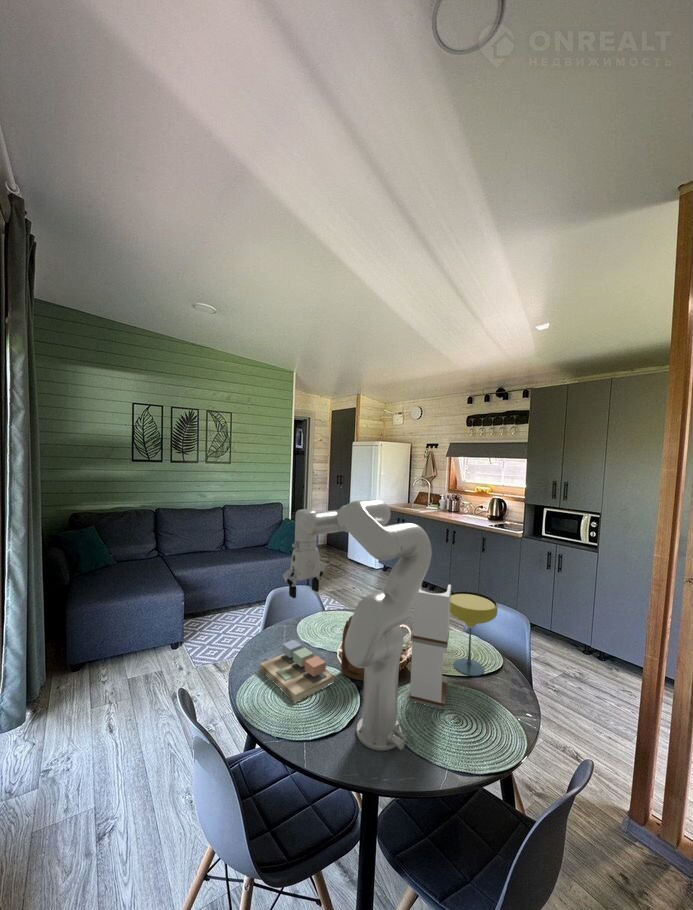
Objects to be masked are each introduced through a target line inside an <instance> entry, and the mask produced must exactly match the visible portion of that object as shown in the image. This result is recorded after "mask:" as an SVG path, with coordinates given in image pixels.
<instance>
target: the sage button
mask: <svg viewBox="0 0 693 910" xmlns="http://www.w3.org/2000/svg"><path fill="white" fill-rule="evenodd" d="M313 657H314V652H312V651H311V650H309V649H308V648H306V647H303V648H302V649H300V650H297V651H294V652H293V661H294V662H295V663H297V664H298V665H299V666H301V667H302V666H305V661H306V660H308V659H310V658H313Z"/></svg>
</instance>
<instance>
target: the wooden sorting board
mask: <svg viewBox="0 0 693 910" xmlns="http://www.w3.org/2000/svg"><path fill="white" fill-rule="evenodd" d="M259 671H260V672H261V673H262V672H263V673H264V674H265V675H267V676H268V677H269V678H270V679H271V680H272V681H274V683H276V684H277V685H278V686H279V687H280V688H281V689H282V690H283V691H284V692H285V693H286V694H287V695H288V696H289V697H290V698H291V699H292V700H293V701H294V702H293V701H292V700H291V699H290V698H289V697H288V696H287V695H286V694H285V693H284V692H283V691H282V690H281V691H282V692H283V693H284V694H285V695H286V696H287V697H288V698H289V699H290V700H291V701H292V702H293V703H295V702H297V701H299V700H301V699H302V700H304V699H306V698H308V697H310V696H312V695H314V694H316V693H318V692H320V691H321V690H320V689H322V688H324V687H325V686H327V685H328V684H330V683H332V682H334V681H336V675H335V674H333V673H332V672H330V671H329V670H328V669H326V671H325V672H322V673H320V674H318V675H316V676H314V677H313V676H312V675H311V674H310V673H308V672H307V671H306V670H305V666H302V667H301V666H299V665H298V664H297V663H295V662H294V661H293V657H291V658H289V657H288V656H287V655H285V654H284V653H283V654H281V655H278V656H276V657H273V658H270V659H268V660H266V661H263V662H261V663H260V664H259ZM263 673H262V674H263ZM264 674H263V675H264ZM265 675H264V676H265ZM268 677H267V678H268ZM269 678H268V679H269ZM270 679H269V680H270ZM271 680H270V681H271ZM272 681H271V682H272ZM274 683H273V684H274ZM324 689H325V688H324ZM319 690H320V691H319ZM322 690H323V689H322ZM317 691H318V692H317ZM315 692H316V693H315ZM313 693H314V694H313ZM311 694H312V695H311ZM309 695H310V696H309ZM307 696H308V697H307ZM305 697H306V698H305ZM303 698H304V699H303ZM302 700H301V701H302ZM299 702H300V701H299ZM297 703H298V702H297Z"/></svg>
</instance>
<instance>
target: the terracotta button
mask: <svg viewBox="0 0 693 910" xmlns="http://www.w3.org/2000/svg"><path fill="white" fill-rule="evenodd" d="M326 667H327V662H326V661H325V660H323V659H322V658H320V657H319V656H318V655H315V656H313V658H310V659H308V660H306V661H305V670H306V671H307V672H308V673H310V674H311V675H312V676H313V677H314V676H316V675H318V674H320V673H322V672H325V671H326V670H327V669H326Z"/></svg>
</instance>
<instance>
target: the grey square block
mask: <svg viewBox="0 0 693 910" xmlns="http://www.w3.org/2000/svg"><path fill="white" fill-rule="evenodd" d="M300 649H302V644H301V643H299V642H298V641H296V640H295V639H291V640H289V641H286V642H284V643H282V648H281V652H282V653H283V654H285V655H287V656H288V657H289V658H291V657H293V652H294V651H297V650H300Z"/></svg>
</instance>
